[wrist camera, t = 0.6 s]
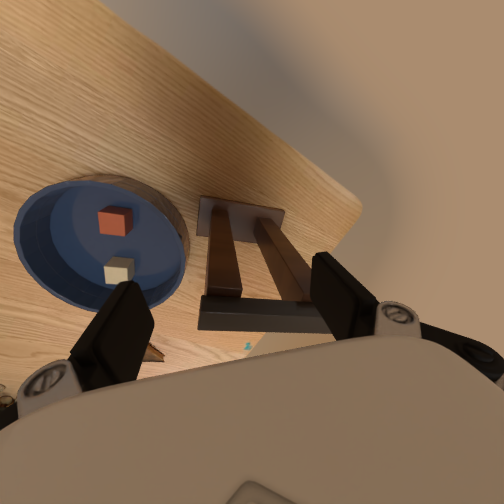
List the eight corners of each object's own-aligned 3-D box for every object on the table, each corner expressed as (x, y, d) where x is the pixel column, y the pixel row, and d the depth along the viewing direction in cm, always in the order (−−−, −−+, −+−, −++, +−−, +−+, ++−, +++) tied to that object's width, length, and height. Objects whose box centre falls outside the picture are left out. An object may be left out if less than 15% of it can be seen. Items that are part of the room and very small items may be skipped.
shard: (166, 355, 44) (164, 363, 42) (135, 370, 44) (132, 378, 43) (130, 325, 38) (126, 333, 37) (96, 342, 39) (91, 350, 37)
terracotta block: (108, 205, 28) (97, 211, 25) (132, 209, 29) (124, 215, 26) (110, 225, 29) (99, 233, 27) (133, 228, 30) (125, 236, 27)
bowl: (32, 159, 25) (-12, 162, 20) (194, 189, 29) (190, 197, 24) (61, 287, 33) (35, 311, 28) (185, 295, 37) (180, 317, 33)
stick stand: (200, 194, 30) (179, 263, 12) (283, 209, 33) (361, 281, 15) (196, 232, 32) (174, 334, 15) (273, 243, 35) (331, 337, 18)
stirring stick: (201, 294, 13) (199, 311, 12) (332, 303, 16) (344, 318, 14) (199, 312, 14) (197, 330, 13) (325, 318, 16) (335, 334, 15)
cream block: (112, 256, 31) (103, 266, 29) (134, 258, 32) (127, 268, 29) (114, 272, 33) (105, 283, 30) (135, 274, 33) (128, 285, 31)
